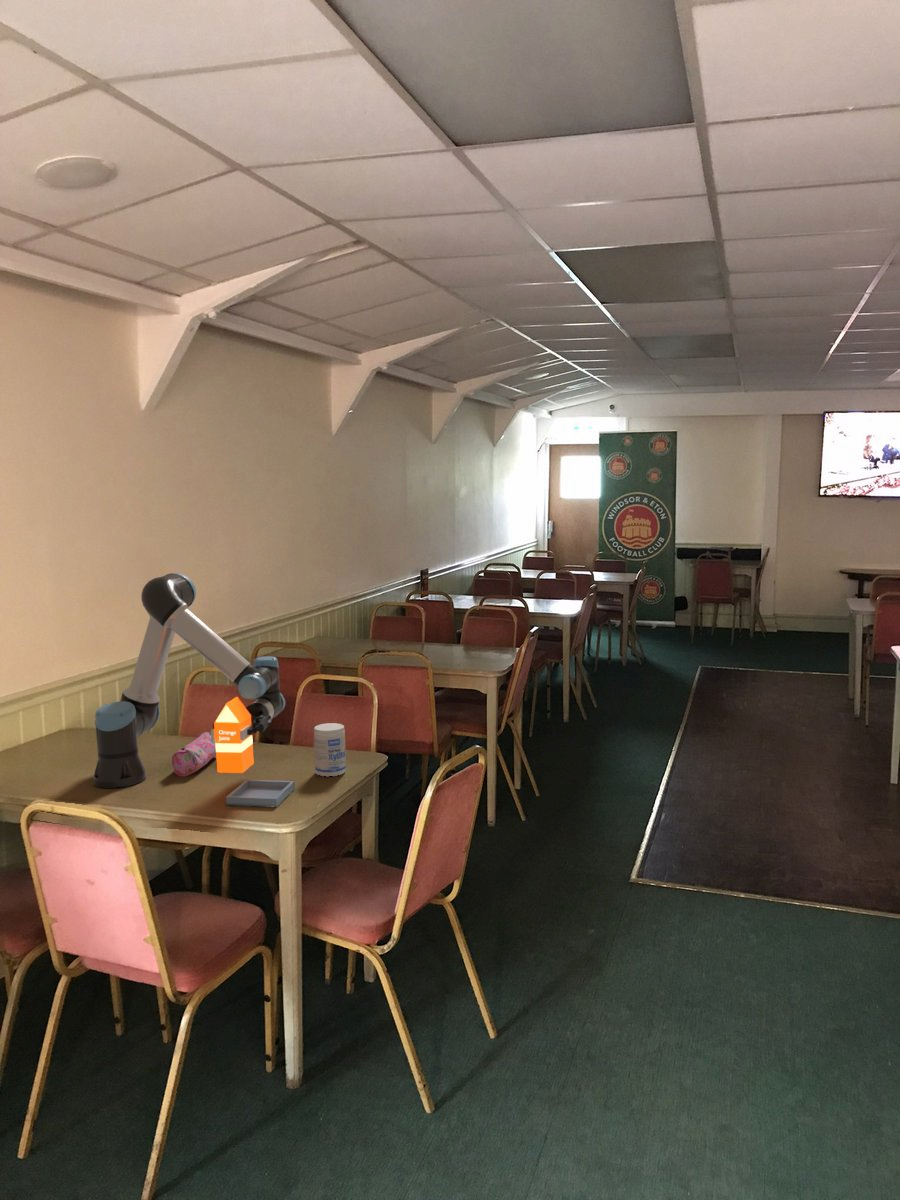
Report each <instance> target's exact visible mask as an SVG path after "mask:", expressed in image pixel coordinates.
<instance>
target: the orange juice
mask: <svg viewBox="0 0 900 1200" xmlns="http://www.w3.org/2000/svg"><path fill="white" fill-rule="evenodd" d="M245 707H246V706H245V705H244V703H243V702H242V701H241V700H240V698H239V696H236V697H234V698H232V699H231V700H229V701H227V702H226V703H225V705H224V707H223V709H221V710H220V711H221V712H220V713H219V715H218V716H217V718H216V720H215V722H213V723H214V728H215V746H216V756H215V758H216V768H217V771H216V772H217V773H222V774H223V773H224V774H225V773H227V774H243V773H245V772H246V771H247V770H248V769H249V768H250V767H252V766H253V765H254V763H255V759H254V746H253V742H254V741H253V734H252V735H250V736H248V737H247V738H245V739H244V740H240V730H242V729H243V728H245V727H246V726H248V725H251V715H250V713H249V712H248V710H247V709H246V708H245ZM251 727H252V726H251Z"/></svg>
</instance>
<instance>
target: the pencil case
mask: <svg viewBox="0 0 900 1200" xmlns="http://www.w3.org/2000/svg"><path fill="white" fill-rule="evenodd" d="M214 757H216V746H215V739H214V740H212V739H211V732H207V731H205V732H201V734H199V735H198V736H197V737H196V739H194V740H192V741H191V742H189V743H188V744H186V745H184V746H183V747H181V748H180V749H178V750H176V751H175V752H174V753H173V754H172V756H171V764H172V768H173V772H174V773H175V774H176V775H177V776H179V777H188V776H190V775H192V774H194V773H195V772H198V771H199V770H201V768H203V767H204V766H205V765H207V764H208V763H209V762H210V761H211V760H212V759H213V758H214Z"/></svg>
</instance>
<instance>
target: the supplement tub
mask: <svg viewBox="0 0 900 1200" xmlns="http://www.w3.org/2000/svg"><path fill="white" fill-rule="evenodd" d="M313 731H314V732H313V743H314V744H313V745H314V746H313V747H314V748H313V749H314V772H315V774H316V775H317V776H319V775H320V776H321V777H324V776H326V777H327V778H330V777H329V776H333V777H338V775H339V776H341V775H343V774H344V773H345V772H346V770H347V764H346V763H347V761H346V755H347V753H346V731H345V725H343V724H342V723H335V722H333V723H332V722H331V723H330V722H327V723H321V724H317V725H316V726H314V729H313Z"/></svg>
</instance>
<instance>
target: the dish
mask: <svg viewBox="0 0 900 1200" xmlns="http://www.w3.org/2000/svg"><path fill="white" fill-rule="evenodd" d="M294 789H295V790H296V781H295V780H294V781H293V780H272V779H271V780H268V779H267V780H266V779H246V780H244V781H242V783H241V784H239V786H237V787H236V788H235V789H234V790H232V791H230V793H229V794H227V796H225V804H226V805H225V806H227V805H236V806H235V807H251V806H270V807H269V808H272V807H271V806H274V807H273V808H275V807H277V806H278V805H279V804H280V803H281V802H282V801H283V800H284V799H285V798H286V797H287V796H288V795H289V794H290V793H291V792H292V791H293V790H294ZM295 790H294V791H295ZM294 791H293V792H294ZM293 792H292V793H293ZM292 793H291V794H292ZM291 794H290V795H291ZM290 795H289V796H290ZM289 796H288V797H289ZM288 797H287V798H288ZM287 798H286V799H287ZM286 799H285V800H286ZM285 800H284V801H285ZM284 801H283V802H284ZM283 802H282V803H283ZM282 803H281V804H282ZM281 804H280V805H281ZM280 805H279V806H280ZM279 806H278V807H279ZM278 807H277V808H278Z"/></svg>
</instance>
